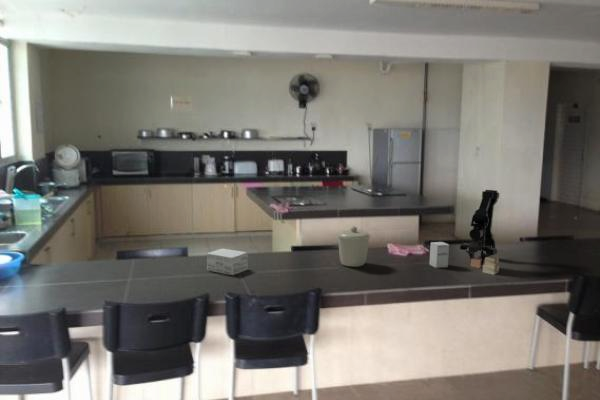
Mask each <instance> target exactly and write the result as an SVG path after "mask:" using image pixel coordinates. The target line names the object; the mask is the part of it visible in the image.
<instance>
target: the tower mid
mask: <svg viewBox="0 0 600 400" xmlns="http://www.w3.org/2000/svg"><path fill="white" fill-rule="evenodd" d="M499 259H500V258H499V257H496V256H493V255H491V256H488V257H486V258H485V262H484V264H485V265H486V266H491V267H495V266H498V265H499Z"/></svg>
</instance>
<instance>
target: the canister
mask: <svg viewBox="0 0 600 400" xmlns="http://www.w3.org/2000/svg"><path fill="white" fill-rule="evenodd" d="M336 236H337V241H338V254H339V261H340V263H341V264H342V265H343V266H346V267H350V268H355V267H356V268H357V267H362V266H364V265H365V264H366V260H367V255H368V249H369V243H370V241H369V240H370V238H371V235H370V234H369V233H368V232H366V231H363V230H358V228H357V227H356V226H355V225H354V226H351V227H350V229H346V230H345V229H344V230H342V231H339V232H338V233H337V234H336Z"/></svg>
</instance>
